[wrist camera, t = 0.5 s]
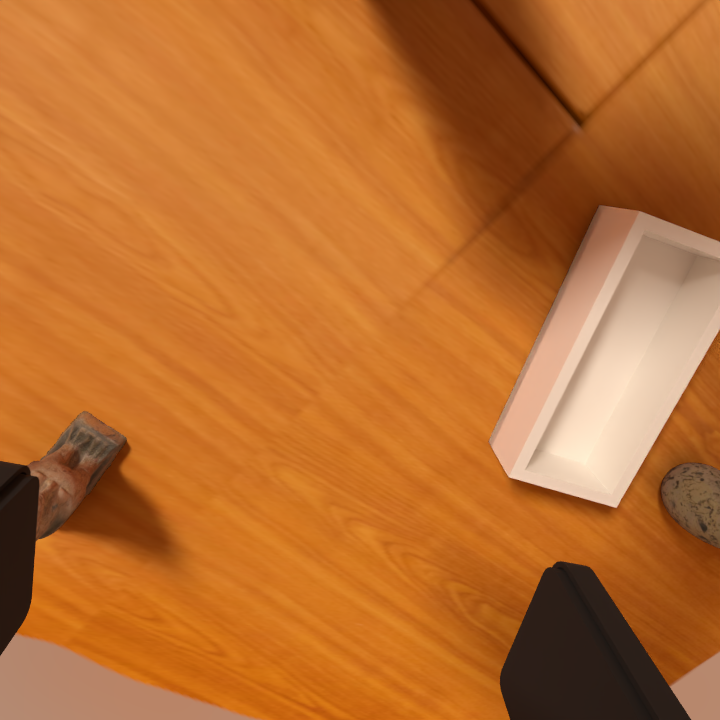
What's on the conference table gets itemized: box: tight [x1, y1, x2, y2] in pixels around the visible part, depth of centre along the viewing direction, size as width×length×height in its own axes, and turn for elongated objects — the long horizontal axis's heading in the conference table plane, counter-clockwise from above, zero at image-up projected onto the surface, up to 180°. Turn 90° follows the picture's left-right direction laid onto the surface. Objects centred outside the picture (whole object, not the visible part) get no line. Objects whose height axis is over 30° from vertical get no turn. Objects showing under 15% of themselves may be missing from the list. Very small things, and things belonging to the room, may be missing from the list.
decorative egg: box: [661, 463, 720, 548], centre depth 47 cm, size 6×6×10 cm
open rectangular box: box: [488, 205, 720, 508], centre depth 44 cm, size 22×10×6 cm, turn 161°
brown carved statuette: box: [27, 411, 127, 541], centre depth 41 cm, size 12×6×18 cm, turn 134°
